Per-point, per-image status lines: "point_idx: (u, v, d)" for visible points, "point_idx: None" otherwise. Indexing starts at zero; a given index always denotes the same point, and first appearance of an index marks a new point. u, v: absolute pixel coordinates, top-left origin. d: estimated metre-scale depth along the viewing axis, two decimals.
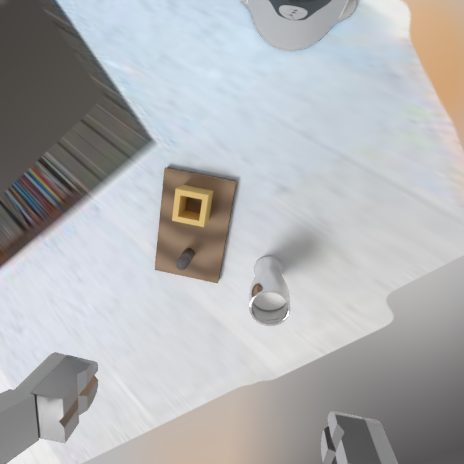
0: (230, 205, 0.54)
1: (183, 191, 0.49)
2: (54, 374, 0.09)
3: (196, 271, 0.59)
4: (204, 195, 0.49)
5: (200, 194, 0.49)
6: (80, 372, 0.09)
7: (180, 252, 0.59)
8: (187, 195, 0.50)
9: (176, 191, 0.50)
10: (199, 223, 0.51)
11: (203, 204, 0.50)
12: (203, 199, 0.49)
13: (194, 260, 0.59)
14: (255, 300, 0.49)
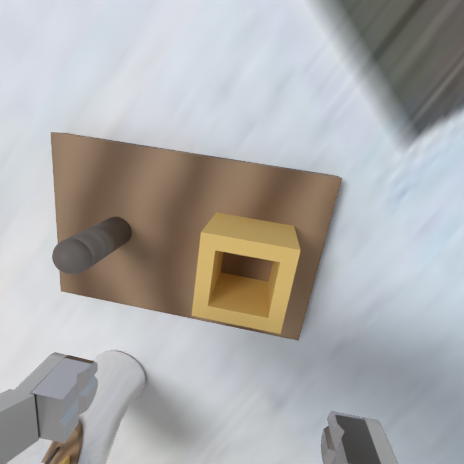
0: None
1: (291, 271, 0.17)
2: (54, 374, 0.09)
3: None
4: (279, 324, 0.18)
5: (282, 314, 0.18)
6: (80, 372, 0.09)
7: (115, 208, 0.23)
8: (279, 281, 0.17)
9: (291, 251, 0.16)
10: (200, 306, 0.18)
11: (254, 320, 0.18)
12: (268, 321, 0.18)
13: None
14: None
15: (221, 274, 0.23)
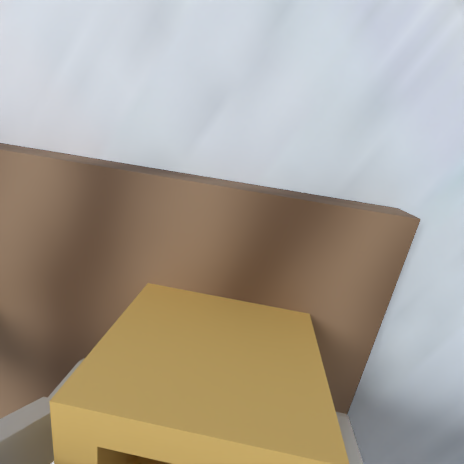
0: None
1: None
2: None
3: None
4: None
5: None
6: None
7: None
8: None
9: None
10: None
11: None
12: None
13: None
14: None
15: None
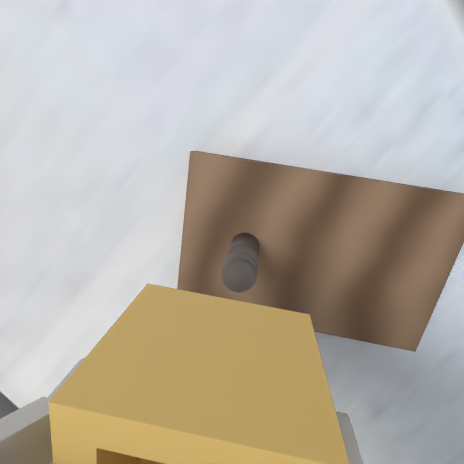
0: (362, 338, 0.25)
1: None
2: None
3: (199, 260, 0.25)
4: None
5: None
6: None
7: (246, 224, 0.23)
8: None
9: None
10: None
11: None
12: None
13: (225, 256, 0.24)
14: None
15: None
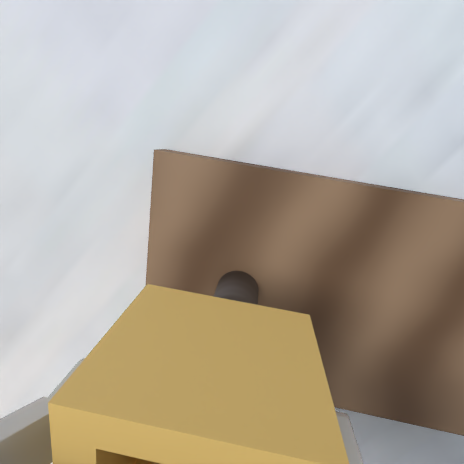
0: (404, 419, 0.18)
1: None
2: None
3: None
4: None
5: None
6: None
7: (239, 259, 0.16)
8: None
9: None
10: None
11: None
12: None
13: None
14: None
15: None
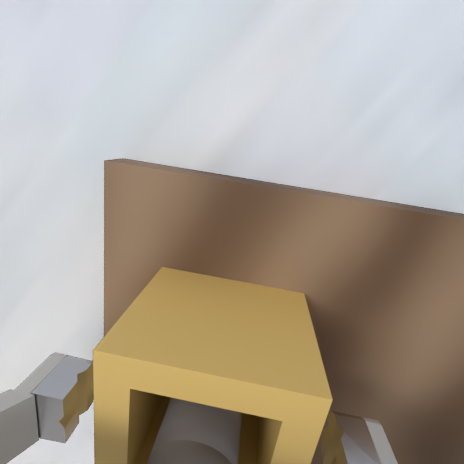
0: None
1: (309, 441, 0.07)
2: (54, 374, 0.09)
3: None
4: None
5: None
6: (80, 372, 0.09)
7: None
8: (280, 457, 0.07)
9: (310, 400, 0.07)
10: None
11: None
12: None
13: None
14: None
15: None
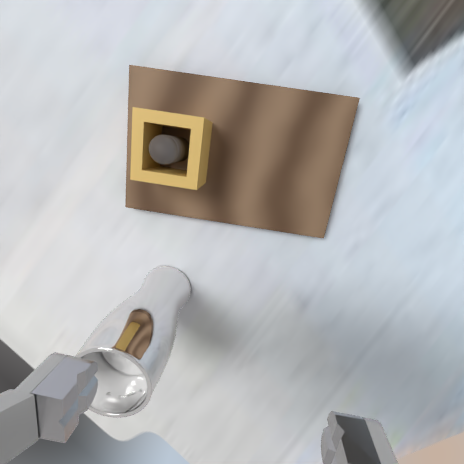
0: (281, 229, 0.30)
1: (199, 136, 0.23)
2: (54, 374, 0.09)
3: None
4: (195, 181, 0.24)
5: (196, 173, 0.24)
6: (80, 372, 0.09)
7: (179, 129, 0.28)
8: (192, 144, 0.23)
9: (197, 118, 0.23)
10: (136, 170, 0.24)
11: (176, 179, 0.24)
12: (187, 179, 0.24)
13: None
14: None
15: (159, 166, 0.29)
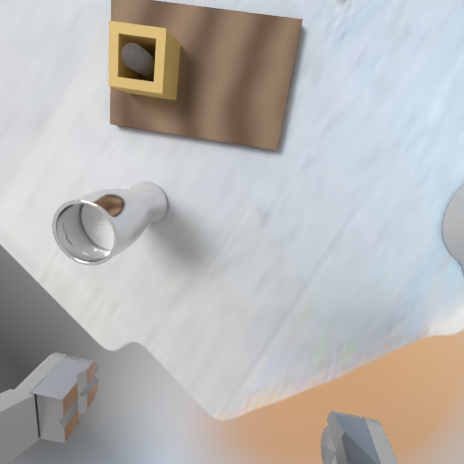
0: (240, 142, 0.35)
1: (163, 44, 0.28)
2: (54, 374, 0.09)
3: None
4: (161, 86, 0.30)
5: (161, 78, 0.29)
6: (80, 372, 0.09)
7: (153, 52, 0.33)
8: (157, 53, 0.29)
9: (161, 29, 0.28)
10: (113, 77, 0.30)
11: (146, 84, 0.30)
12: (154, 84, 0.30)
13: None
14: None
15: None
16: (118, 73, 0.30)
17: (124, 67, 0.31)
